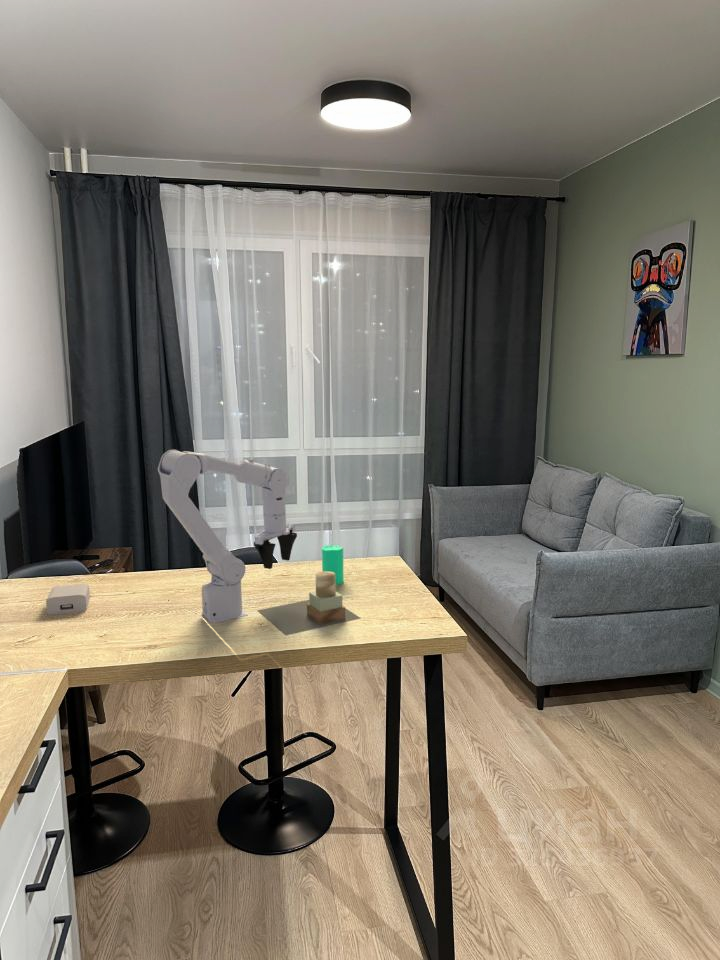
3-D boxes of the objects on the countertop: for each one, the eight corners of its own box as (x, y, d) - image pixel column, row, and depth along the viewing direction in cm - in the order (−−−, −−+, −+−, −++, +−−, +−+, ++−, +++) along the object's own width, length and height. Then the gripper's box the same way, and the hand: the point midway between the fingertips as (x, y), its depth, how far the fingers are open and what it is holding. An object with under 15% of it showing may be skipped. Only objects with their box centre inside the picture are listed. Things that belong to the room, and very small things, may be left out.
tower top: (320, 611, 159) (320, 599, 158) (309, 604, 164) (309, 592, 163) (342, 607, 162) (342, 595, 161) (331, 599, 167) (330, 588, 166)
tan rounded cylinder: (321, 598, 159) (321, 578, 158) (312, 592, 163) (312, 573, 162) (339, 595, 161) (338, 575, 161) (329, 589, 166) (329, 570, 165)
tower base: (319, 624, 159) (319, 612, 158) (307, 615, 165) (306, 603, 164) (345, 618, 162) (345, 607, 162) (332, 609, 168) (331, 598, 168)
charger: (92, 592, 184) (86, 611, 170) (56, 596, 181) (47, 616, 167) (91, 576, 183) (85, 594, 169) (54, 579, 181) (45, 598, 166)
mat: (285, 637, 153) (285, 635, 153) (256, 612, 168) (256, 610, 168) (360, 620, 163) (360, 618, 163) (327, 597, 178) (327, 596, 178)
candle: (343, 586, 187) (342, 545, 185) (321, 586, 187) (321, 545, 185) (344, 579, 193) (343, 539, 191) (323, 579, 193) (322, 539, 191)
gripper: (269, 521, 163) (272, 574, 165) (303, 508, 175) (305, 558, 178) (247, 518, 166) (250, 570, 169) (281, 506, 179) (284, 554, 181)
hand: (277, 563), depth 174 cm, fingers open, 7 cm apart
